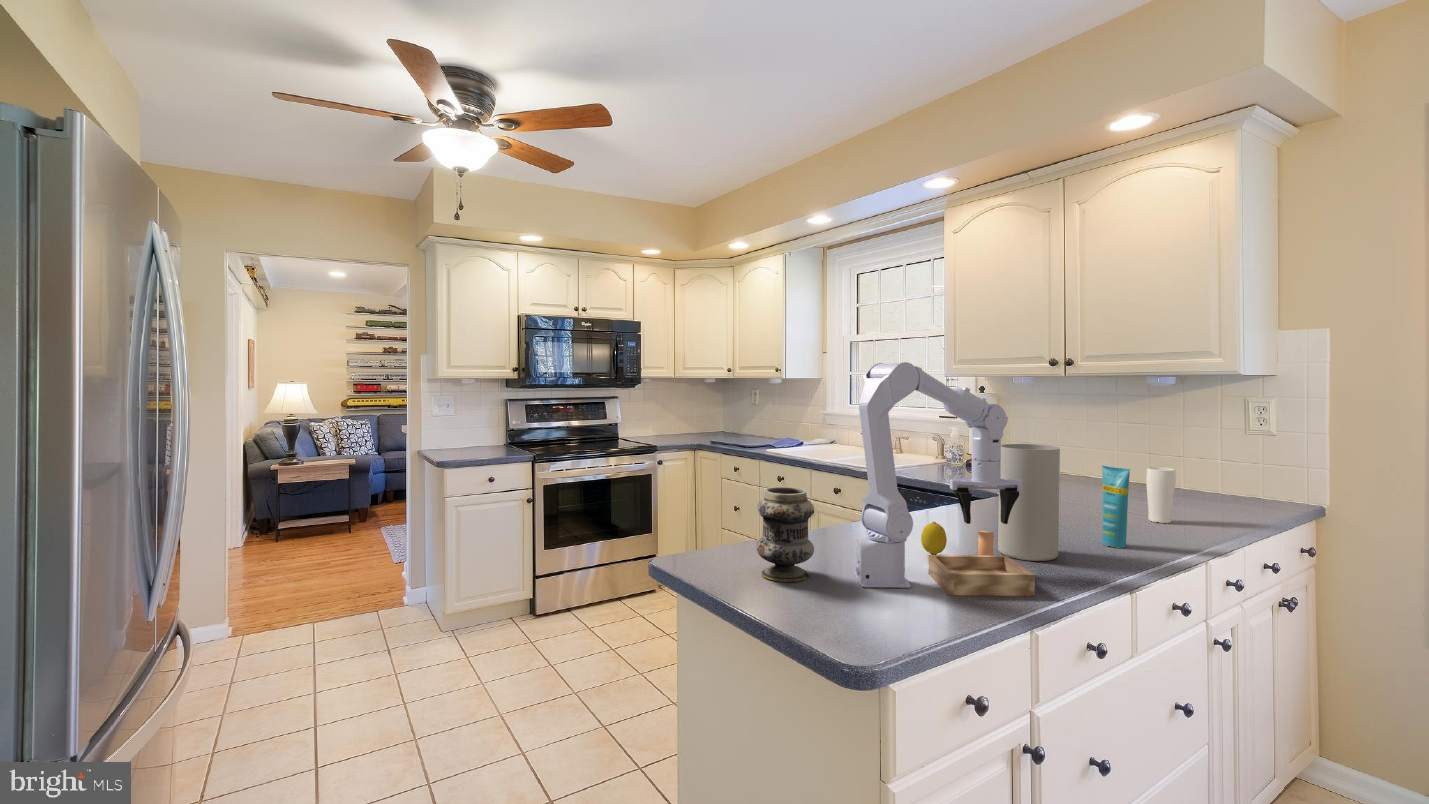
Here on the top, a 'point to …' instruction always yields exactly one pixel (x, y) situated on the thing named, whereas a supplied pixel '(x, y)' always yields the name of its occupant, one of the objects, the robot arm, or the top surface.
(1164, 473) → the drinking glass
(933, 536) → the lemon
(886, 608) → the top surface
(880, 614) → the top surface
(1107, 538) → the tube
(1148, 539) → the top surface
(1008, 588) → the box
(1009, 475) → the cylinder vase
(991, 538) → the peg
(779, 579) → the apothecary jar
